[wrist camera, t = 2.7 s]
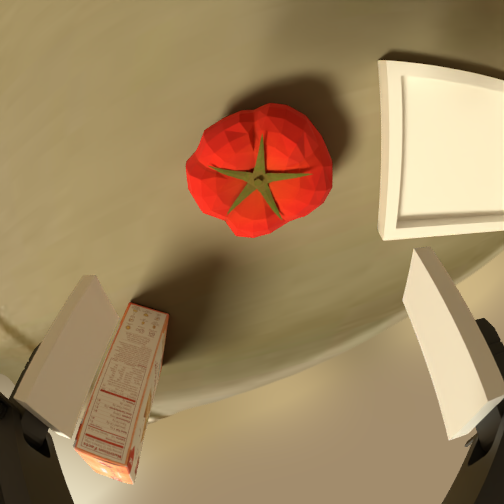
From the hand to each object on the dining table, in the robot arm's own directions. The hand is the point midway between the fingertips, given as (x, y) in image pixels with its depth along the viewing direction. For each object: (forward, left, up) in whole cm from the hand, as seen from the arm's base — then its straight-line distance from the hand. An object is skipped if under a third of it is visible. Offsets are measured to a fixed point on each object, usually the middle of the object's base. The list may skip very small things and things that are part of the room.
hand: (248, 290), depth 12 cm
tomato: (0, 0, -17) cm, 17 cm away
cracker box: (+23, -19, -17) cm, 34 cm away
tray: (0, +20, -16) cm, 26 cm away
